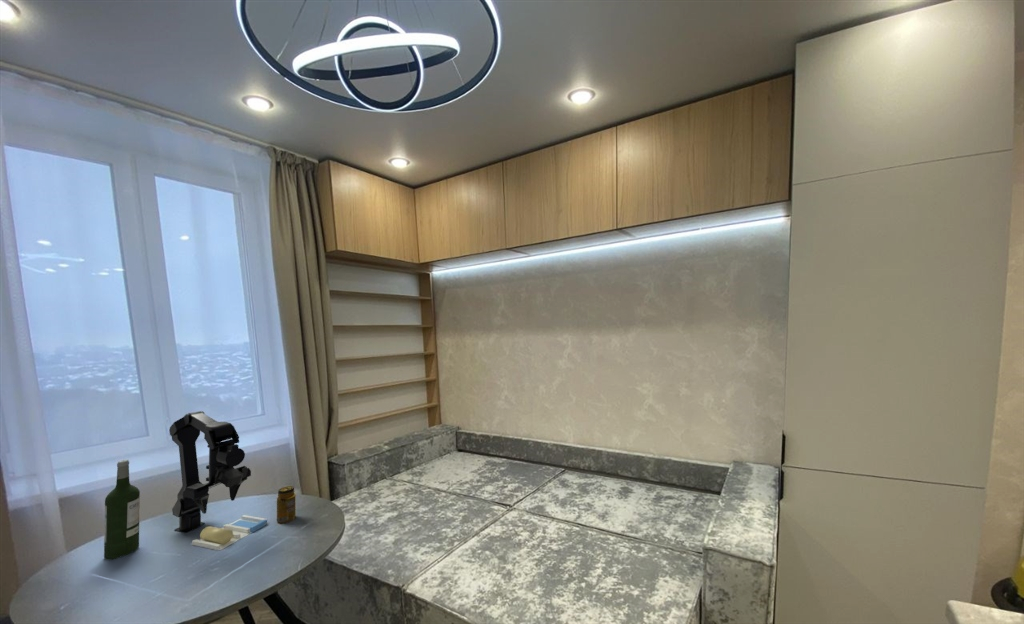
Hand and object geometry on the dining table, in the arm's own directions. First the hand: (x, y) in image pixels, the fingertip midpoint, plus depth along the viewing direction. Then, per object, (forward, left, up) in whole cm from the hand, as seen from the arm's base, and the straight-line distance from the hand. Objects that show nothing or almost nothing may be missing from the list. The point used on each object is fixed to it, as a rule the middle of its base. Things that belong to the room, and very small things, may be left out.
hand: (218, 506), depth 126 cm
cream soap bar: (0, -1, -11) cm, 11 cm away
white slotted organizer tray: (0, +4, -12) cm, 13 cm away
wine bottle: (-25, -13, -12) cm, 31 cm away
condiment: (+12, +16, -12) cm, 23 cm away
